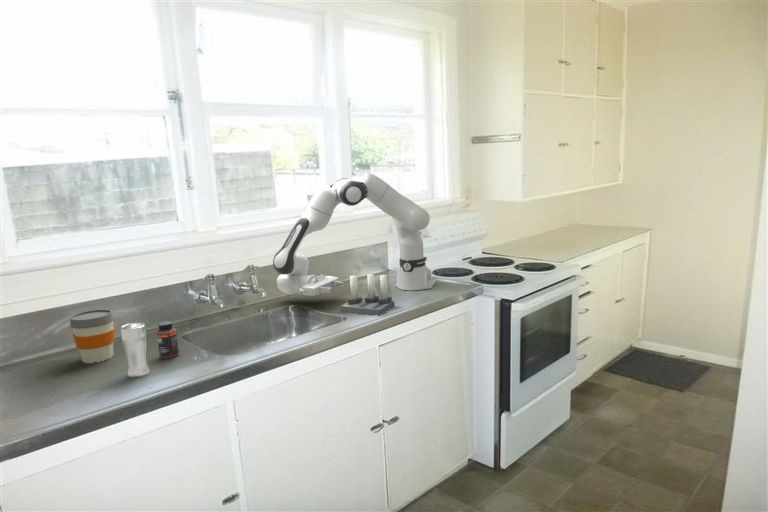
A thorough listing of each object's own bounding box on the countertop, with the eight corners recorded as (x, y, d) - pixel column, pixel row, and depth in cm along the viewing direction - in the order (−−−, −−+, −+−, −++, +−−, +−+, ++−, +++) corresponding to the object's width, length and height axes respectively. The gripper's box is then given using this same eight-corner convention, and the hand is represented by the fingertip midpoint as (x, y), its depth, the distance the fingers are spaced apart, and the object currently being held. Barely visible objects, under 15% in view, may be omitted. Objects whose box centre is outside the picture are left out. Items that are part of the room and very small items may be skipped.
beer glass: (142, 378, 154) (135, 329, 151) (121, 377, 155) (114, 329, 152) (156, 369, 161) (150, 322, 158) (136, 368, 162) (129, 322, 159)
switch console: (357, 303, 225) (355, 272, 223) (394, 306, 217) (393, 274, 215) (340, 311, 213) (338, 279, 211) (379, 316, 205) (377, 282, 203)
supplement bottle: (180, 351, 175) (177, 319, 173) (177, 358, 169) (173, 324, 167) (162, 353, 174) (158, 321, 172) (157, 360, 168) (153, 326, 166)
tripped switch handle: (353, 299, 221) (352, 274, 219) (361, 300, 219) (360, 275, 217) (347, 303, 216) (346, 277, 214) (356, 303, 214) (354, 277, 212)
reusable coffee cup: (79, 355, 176) (72, 312, 173) (120, 348, 180) (114, 307, 178) (73, 368, 164) (65, 322, 162) (117, 361, 169) (110, 316, 166)
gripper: (295, 283, 217) (323, 285, 211) (322, 273, 235) (348, 274, 229) (296, 298, 218) (324, 300, 212) (323, 286, 236) (349, 288, 230)
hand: (337, 287), depth 220 cm, fingers open, 8 cm apart
